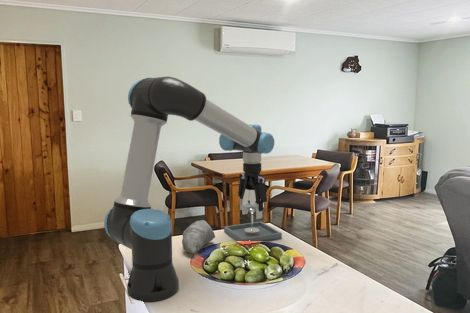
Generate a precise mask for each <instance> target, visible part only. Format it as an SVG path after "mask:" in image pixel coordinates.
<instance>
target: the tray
mask: <svg viewBox="0 0 470 313" xmlns="http://www.w3.org/2000/svg"><path fill="white" fill-rule="evenodd" d="M246 228H251V222H247V223H240V224H233V225H226V226H223V233H225V235H227V236H229V237H230V238H231V239H232V240H234V241H235V240H236V241H249V240H250V241H267V242H272V241H273V242H274V241H279V240H282V239H283V234H282V232H281V231H279V230H277V229H275V228H273V227H272V226H270V225H269V224H267V223H265V222H264V221H261V220H260V221H253V228H258V229H259V230H260V231H259V232H257V233H248V232H245V231H244V230H245V229H246ZM236 241H235V242H236Z"/></svg>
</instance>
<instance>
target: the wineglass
mask: <svg viewBox="0 0 470 313" xmlns="http://www.w3.org/2000/svg"><path fill="white" fill-rule="evenodd" d="M260 200H261V199H260ZM256 203H257V198H256V194H255V191H254V188H253V187H252V186H250V187H249V188H246V189H245V192H244V196H243V205H244V207H245V208H246V209H247V210H248V213H250V217H251V219H250V223H251V228H246V229H245V230H244V231H245V232H248V233H257V232H259V231H260V230H259V229H258V228H253V222H254V213H255V212H256Z"/></svg>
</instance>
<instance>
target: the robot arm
mask: <svg viewBox="0 0 470 313" xmlns="http://www.w3.org/2000/svg"><path fill="white" fill-rule="evenodd" d="M127 100H128V104H129V106H130V108H131V111H130V117H131V119H132V120H133V127H132V128H133V129H132V131H131V132H132V134H131V139H130V144H129V150H128V155H127V158H126V165H125V171H124V176H123V181H122V187H121V191H120V195H119V196H118V197H117V198H115V199H114V200H113V201H114V202H113V206H112V207H111V209H110V210H108V211H107V213H106V214H105V217H104V221H103V223H104V225H103V226H104V230H105V233H106V234H107V236H108V237H109V238H111V239H112V240H113V241H114V242H116V243H118V244H120V245H122V246H124V247H126V248H127V249H130V250H131V261H132V262H131V263H132V265H131V266H132V267H131V271H130V274H129V278H128V281H127V286H126V290H127V292H126V293H127V295H128V297H129V298H131V299H132V300H135V301H138V302H157V301H162V300H166V299H168V298H171V297H173V296H174V295H175V294H177V292H178V291H179V288H180V284H179V283H180V281H179V277H178V275H177V271H176V269H175V267H174V263H173V239H172V238H173V237H172V236H173V234H172V232H173V226H172V221H171V220H172V219H171V216H170V215H169V213H167V212H165V211H164V210H161V209H154V208H152V204H151V203H150V202H149V194H150V188H151V183H152V177H153V172H154V167H155V166H154V165H155V160H156V155H157V151H158V145H159V140H160V135H161V128H162V127H163V126H164V125H166V124H168V118H169V116H178V117H180V118H183V119H185V120H188V121H191V122H192V121H193V122H194V121H196V122H198V123H200V124H201V125H203V126H206V127H207V128H209V129H211V130H213V131H214V132H217V133H218V134H220V135H219V138H218V144H219V146H220V148H221V150H223V151H226V152H227V151H229V152H231V151H238V152H239V151H241V152H242V161H243V163H242V171H243V172H244V173H239V184H238V193H237V196H238V197H239V198H240V199H241V210H242V211H241V213H242V215H247V214H249V211H248V210H247V209H246V208H245V207H244V205H243V196H244V192H245V189H246V188H249V187H253V188H254V191H255V194H256V198H257V203H256V211H255V212H256V213H255V219H256V220H260V219H263V211H264V203H267V202H268V197H267V196H268V195H267V188H266V187H267V185H266V180H267V178H266V177H262V176H261V172H262V163H261V162H262V154H270V153H271V152H272V151H273V149H274V148H275V147H274V146H275V138H274V136H273V134H271V133H269V132H262V126H261V125H260V124H255V123H254V124H248V123H246V122H244V121H243V120H241V119H240V118H238V117H236V116H235V115H233V114H231V113H230V112H228V111H227V110H225V109H224V108H222V107H220V106H219V105H217V104H215V103H214V102H212V101H210V100H209V99H207V96H206V94H205V93H203V92H202V91H200V90H198V89H197V88H195V87H194V86H192V85H190V84H189V83H187V82H184V81H183V80H181V79H179V78H176V77H173V76H160V77H159V76H158V77H145V78H142V79H140V80H137V81H136V82H134V83H133V84H132V85H131V87H130V89H129V91H128V95H127ZM260 199H261V200H260Z"/></svg>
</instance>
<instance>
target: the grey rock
mask: <svg viewBox="0 0 470 313" xmlns="http://www.w3.org/2000/svg"><path fill="white" fill-rule="evenodd" d="M215 238H216V235H215V231H214V230H213V229H212V227H211V225H210V224H208V222H207V221H206V220H203V219H201V220H196V221H194V222H192V223H191V224H190V225H189V226H188V227H186V229H184V230H183V232H182V240H181V244H182V248H183V250H184V251H185V252H186V253H187V254H190V255H191V254H192V255H195V254H196V253H198V252H199V251H201V249H202V247H204V246H205V245H206V244H207V243H209V242H211V241H213V240H214V239H215ZM197 251H198V252H197Z"/></svg>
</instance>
